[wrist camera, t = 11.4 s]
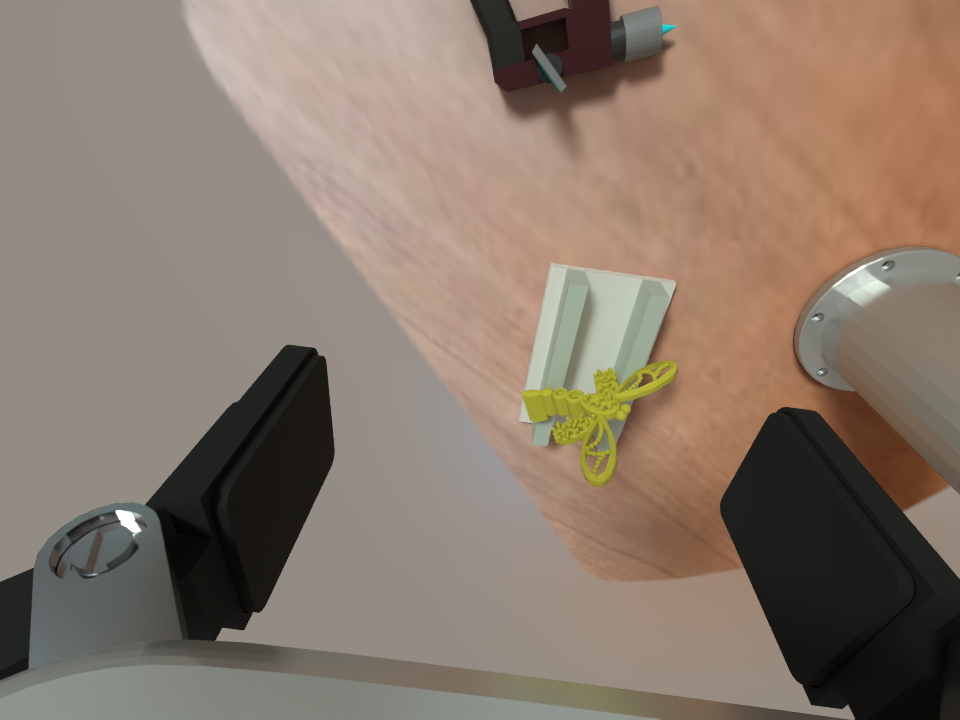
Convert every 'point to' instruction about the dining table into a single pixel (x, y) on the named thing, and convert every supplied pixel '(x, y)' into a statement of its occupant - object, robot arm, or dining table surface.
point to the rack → (593, 335)
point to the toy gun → (567, 41)
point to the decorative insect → (594, 412)
